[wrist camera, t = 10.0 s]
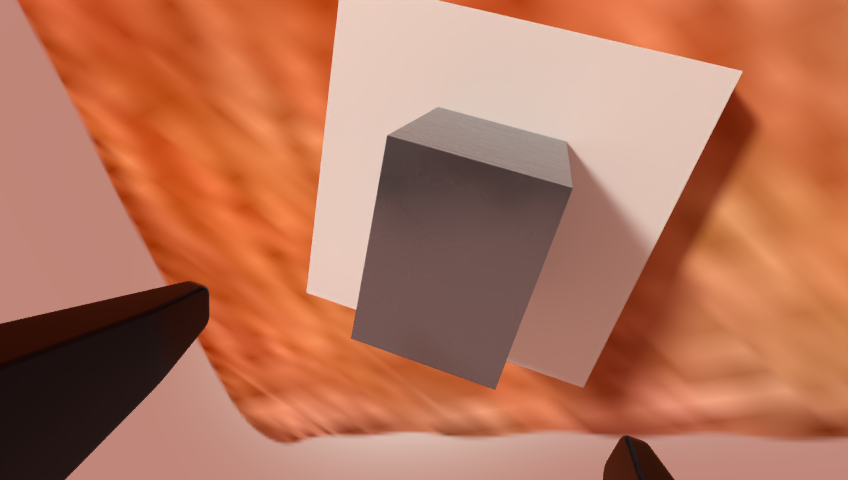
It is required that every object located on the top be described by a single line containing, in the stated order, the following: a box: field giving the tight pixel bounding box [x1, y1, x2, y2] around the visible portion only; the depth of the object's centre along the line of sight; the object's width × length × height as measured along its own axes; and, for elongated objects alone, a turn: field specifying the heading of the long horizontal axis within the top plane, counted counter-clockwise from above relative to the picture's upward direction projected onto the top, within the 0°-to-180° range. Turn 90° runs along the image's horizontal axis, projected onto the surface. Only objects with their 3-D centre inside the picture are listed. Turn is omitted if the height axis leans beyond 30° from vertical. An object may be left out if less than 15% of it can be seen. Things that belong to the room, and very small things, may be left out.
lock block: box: [351, 107, 573, 390], centre depth 16 cm, size 5×7×6 cm
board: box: [307, 0, 743, 388], centre depth 20 cm, size 14×14×2 cm
